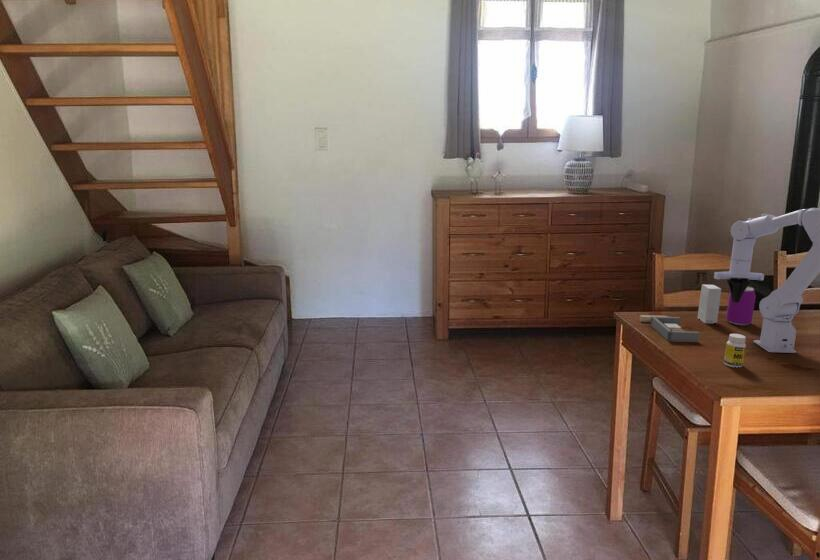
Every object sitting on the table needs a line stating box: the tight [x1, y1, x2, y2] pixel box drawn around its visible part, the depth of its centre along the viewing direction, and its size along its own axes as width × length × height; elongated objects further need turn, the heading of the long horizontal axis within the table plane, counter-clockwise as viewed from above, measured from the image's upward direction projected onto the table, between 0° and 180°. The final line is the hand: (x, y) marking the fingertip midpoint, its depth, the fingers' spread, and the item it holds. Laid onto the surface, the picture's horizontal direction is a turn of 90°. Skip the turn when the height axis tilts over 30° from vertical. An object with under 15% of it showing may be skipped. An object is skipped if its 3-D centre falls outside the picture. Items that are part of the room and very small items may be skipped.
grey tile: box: [664, 323, 682, 329], centre depth 206 cm, size 4×4×2 cm
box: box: [650, 316, 700, 343], centre depth 203 cm, size 16×9×3 cm, turn 179°
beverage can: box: [725, 286, 757, 327], centre depth 214 cm, size 8×8×12 cm
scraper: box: [638, 314, 669, 323], centre depth 215 cm, size 7×11×2 cm, turn 89°
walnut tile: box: [670, 328, 686, 331], centre depth 200 cm, size 4×4×2 cm
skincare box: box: [697, 283, 722, 324], centre depth 215 cm, size 6×4×12 cm
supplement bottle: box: [723, 333, 747, 369], centre depth 176 cm, size 5×5×8 cm
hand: (735, 301), depth 204 cm, fingers closed
